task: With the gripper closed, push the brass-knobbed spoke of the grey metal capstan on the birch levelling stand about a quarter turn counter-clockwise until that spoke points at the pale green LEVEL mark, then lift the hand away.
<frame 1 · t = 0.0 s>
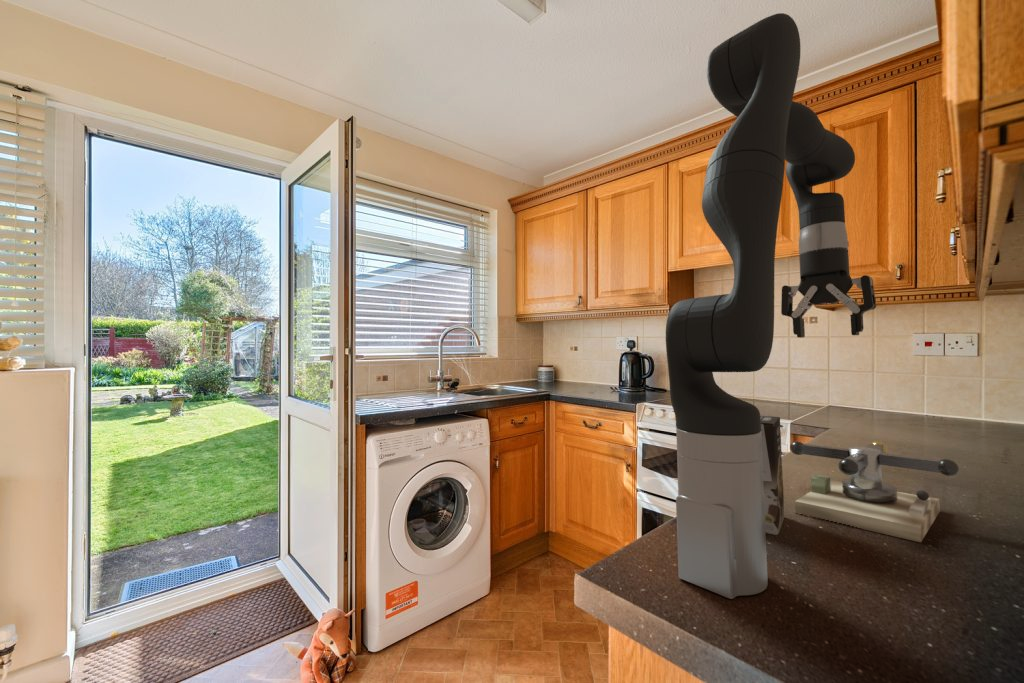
hand: (827, 336, 81), 29 cm above the counter, tool pointing down, fingers open, 8 cm apart
capstan: (865, 473, 71), point 6 cm above the counter, hinge at 0.0°
stand: (867, 512, 70), on the counter
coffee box: (759, 523, 67), on the counter
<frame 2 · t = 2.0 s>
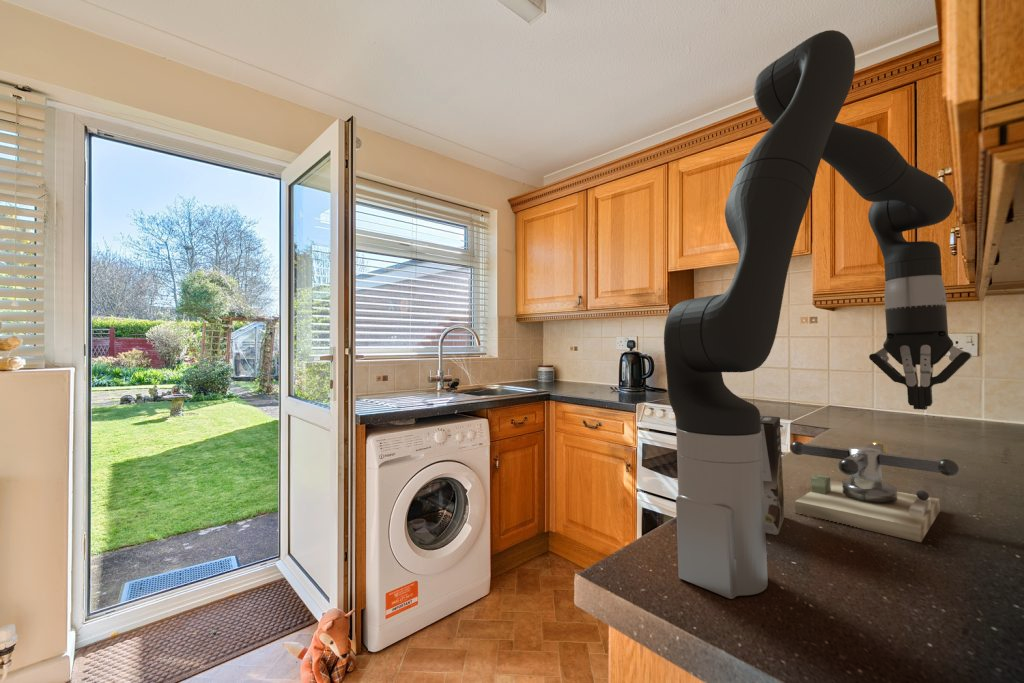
hand: (920, 408, 72), 17 cm above the counter, tool pointing down, fingers closed
nothing on the counter moved.
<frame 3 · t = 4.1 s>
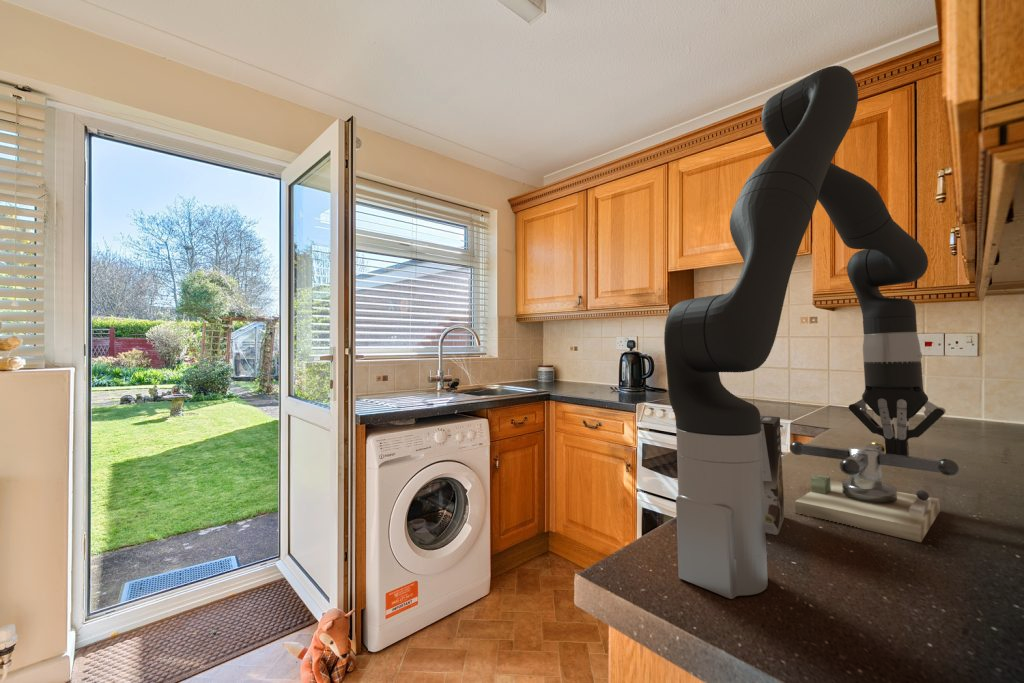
hand: (897, 460, 74), 7 cm above the counter, tool pointing down, fingers closed
capstan: (865, 473, 71), point 6 cm above the counter, hinge at 0.9°, touching gripper
everything else where it was.
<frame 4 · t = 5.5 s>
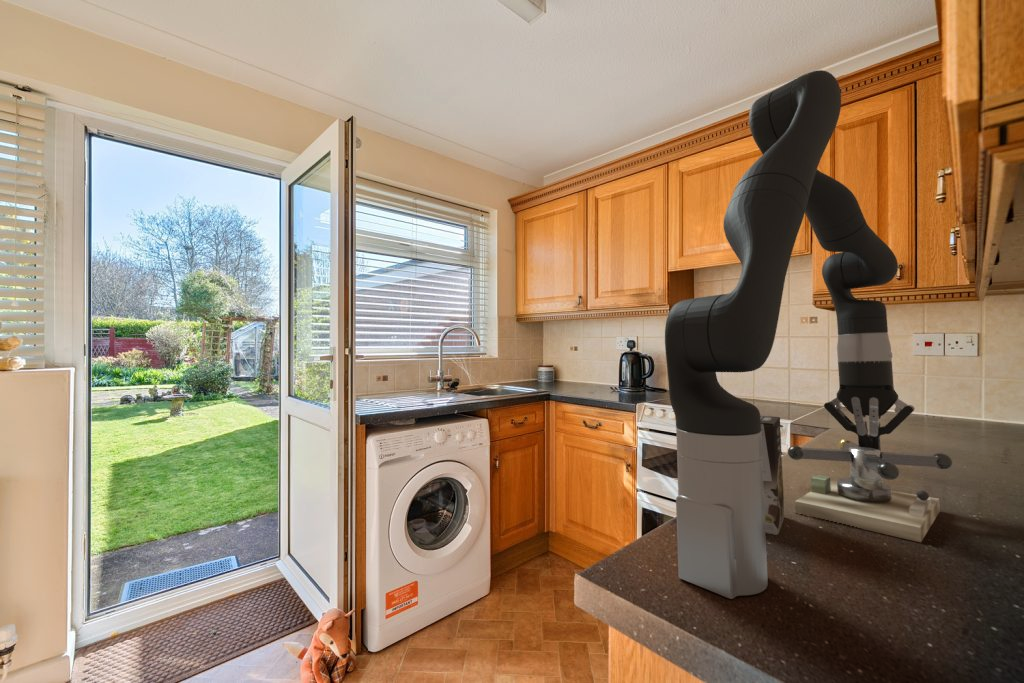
hand: (870, 456, 77), 8 cm above the counter, tool pointing down, fingers closed
capstan: (865, 473, 71), point 6 cm above the counter, hinge at 27.1°, touching gripper
everything else where it was.
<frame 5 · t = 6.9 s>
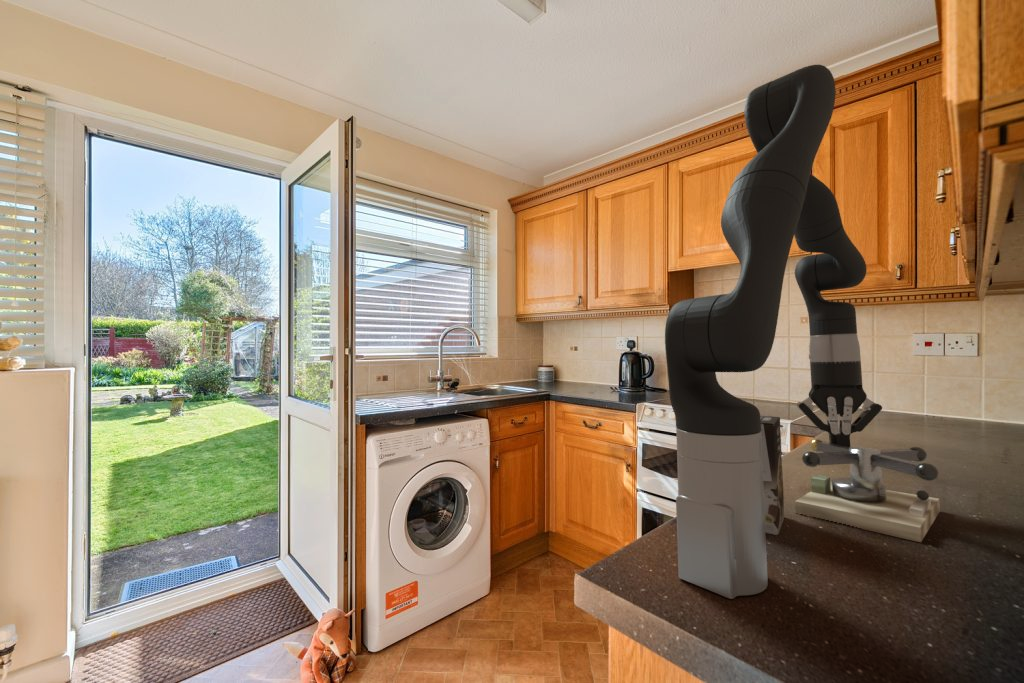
hand: (840, 454, 79), 8 cm above the counter, tool pointing down, fingers closed
capstan: (865, 473, 71), point 6 cm above the counter, hinge at 56.8°, touching gripper
everything else where it was.
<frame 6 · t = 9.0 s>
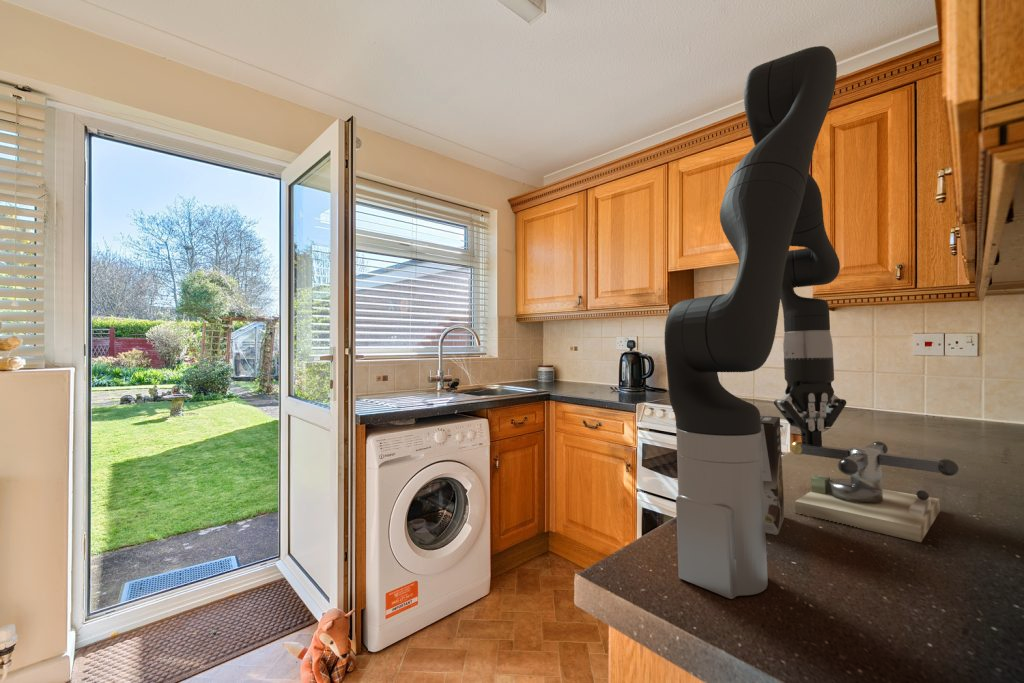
hand: (812, 450, 79), 8 cm above the counter, tool pointing down, fingers closed
capstan: (865, 473, 71), point 6 cm above the counter, hinge at 89.6°
everything else where it was.
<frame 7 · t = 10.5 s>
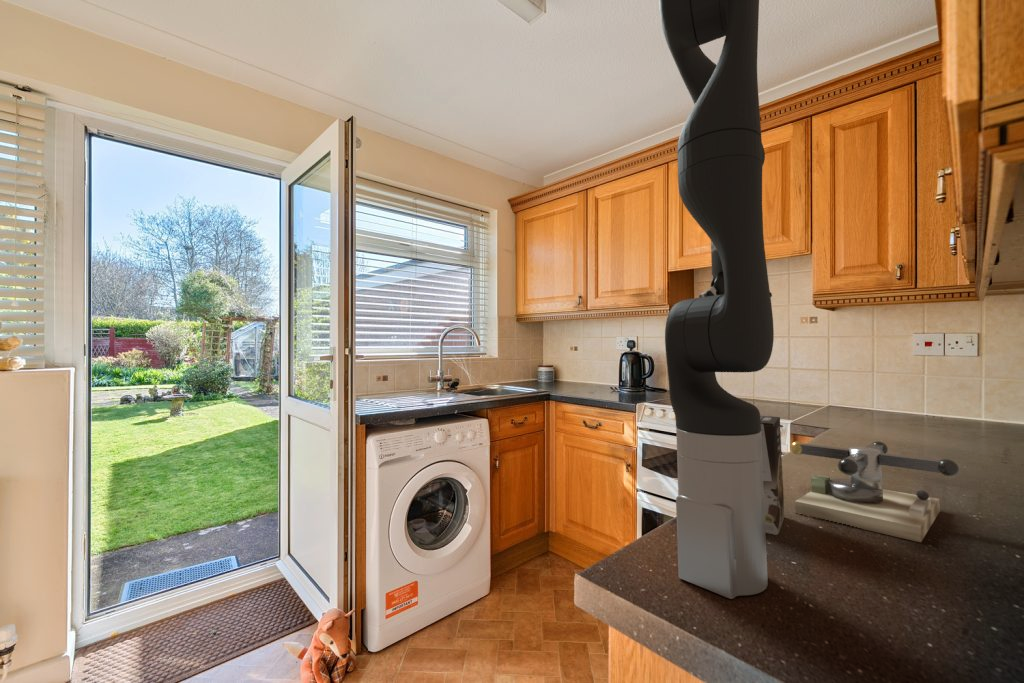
hand: (736, 343, 78), 28 cm above the counter, tool pointing down, fingers closed
nothing on the counter moved.
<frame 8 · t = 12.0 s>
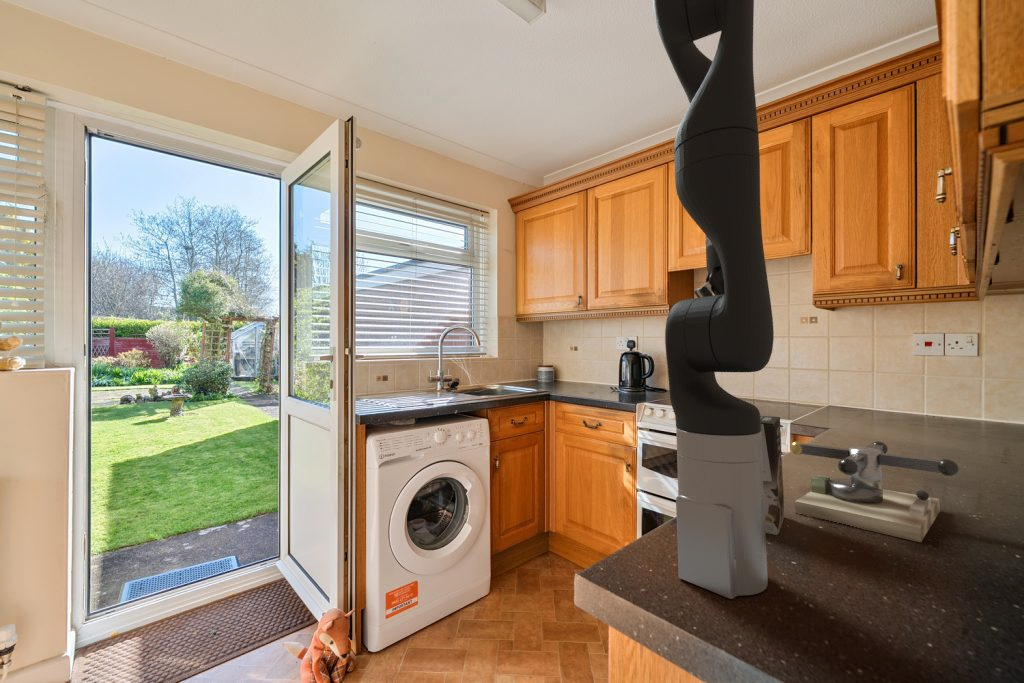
hand: (732, 339, 78), 29 cm above the counter, tool pointing down, fingers closed
nothing on the counter moved.
at the end: capstan at +90° (first picture: +0°) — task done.
